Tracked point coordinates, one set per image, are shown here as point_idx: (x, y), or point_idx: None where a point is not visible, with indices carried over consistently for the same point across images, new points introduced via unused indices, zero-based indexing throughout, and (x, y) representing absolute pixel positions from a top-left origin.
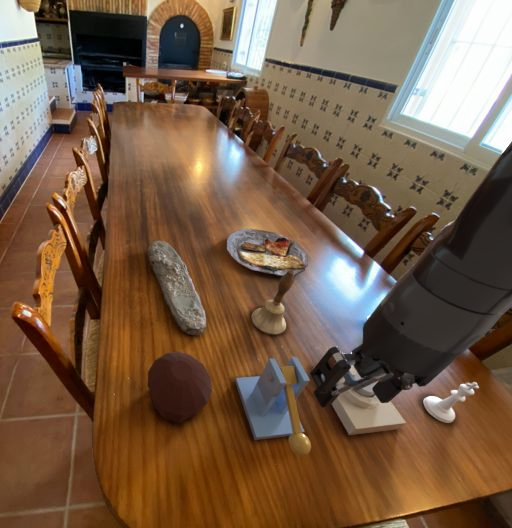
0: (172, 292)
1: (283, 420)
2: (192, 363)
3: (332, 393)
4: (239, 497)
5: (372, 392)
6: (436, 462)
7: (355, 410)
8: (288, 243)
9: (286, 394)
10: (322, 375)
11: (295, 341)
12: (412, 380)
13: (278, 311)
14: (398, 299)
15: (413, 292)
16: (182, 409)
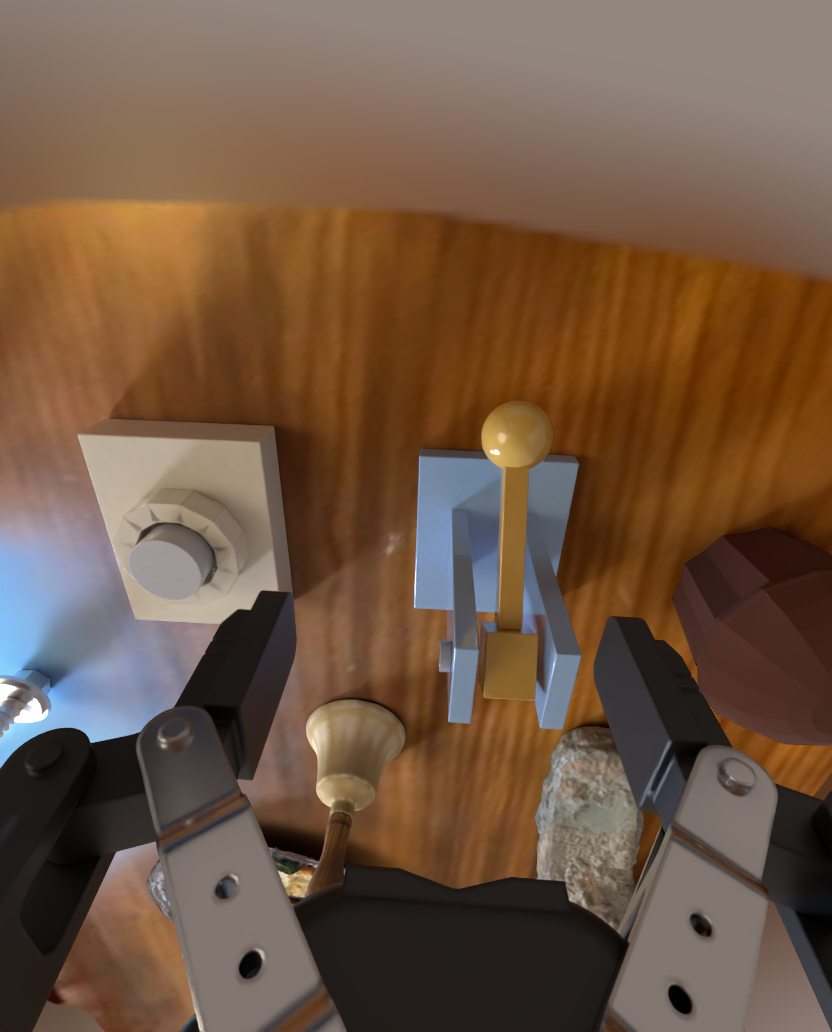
0: (622, 845)
1: (468, 493)
2: (790, 720)
3: (765, 775)
4: (707, 322)
5: (161, 540)
6: (25, 313)
7: (231, 490)
8: None
9: (523, 595)
10: (813, 909)
11: (302, 675)
12: (194, 923)
13: (343, 782)
14: None
15: None
16: None
